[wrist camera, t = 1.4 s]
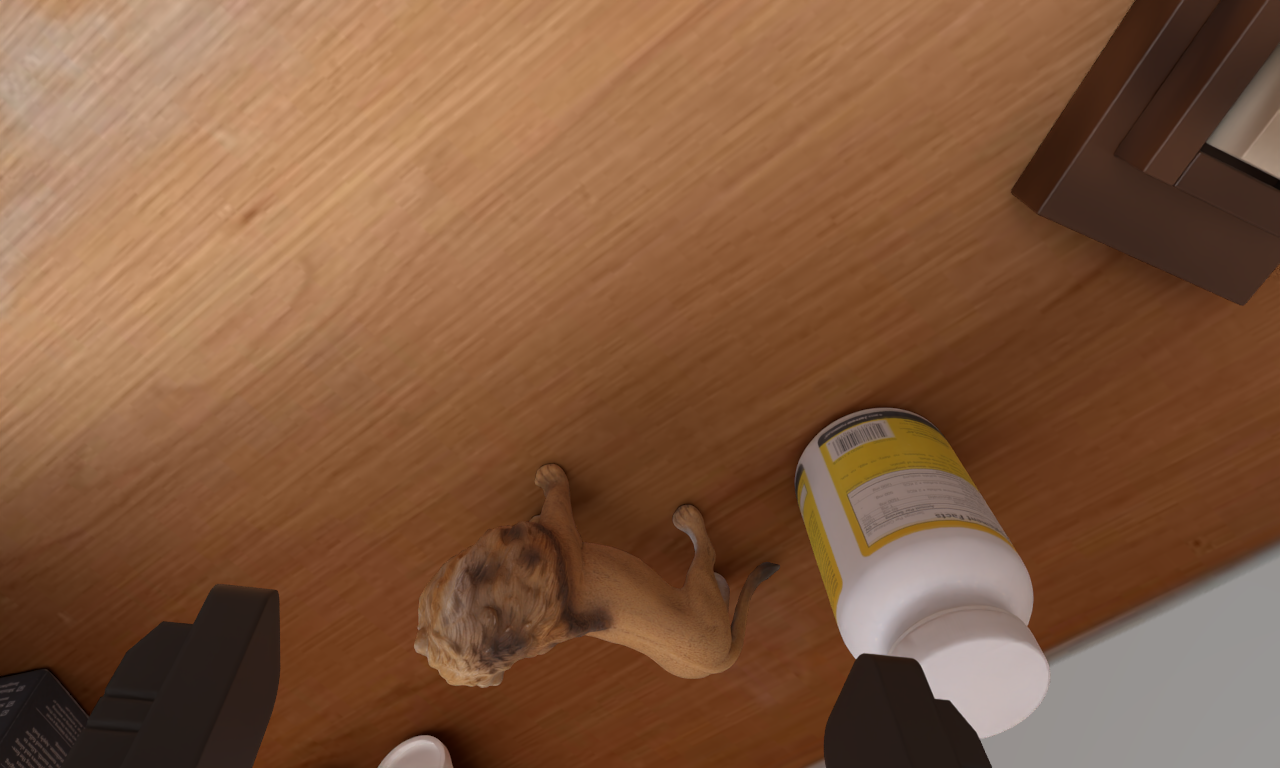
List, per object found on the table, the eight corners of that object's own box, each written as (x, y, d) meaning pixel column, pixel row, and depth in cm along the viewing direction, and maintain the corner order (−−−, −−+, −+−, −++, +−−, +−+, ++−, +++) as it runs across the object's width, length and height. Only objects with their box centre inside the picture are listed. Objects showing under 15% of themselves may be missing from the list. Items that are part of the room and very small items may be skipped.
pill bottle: (850, 549, 39) (940, 789, 29) (759, 465, 36) (823, 696, 26) (976, 465, 37) (1120, 692, 27) (889, 369, 34) (1013, 581, 24)
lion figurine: (433, 538, 37) (392, 716, 30) (456, 438, 35) (417, 604, 27) (757, 598, 40) (796, 775, 32) (800, 509, 37) (854, 678, 30)
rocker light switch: (1255, -185, 25) (1360, -192, 22) (1472, -48, 27) (1599, -35, 24) (1008, 192, 31) (1061, 234, 27) (1206, 281, 33) (1278, 331, 29)
